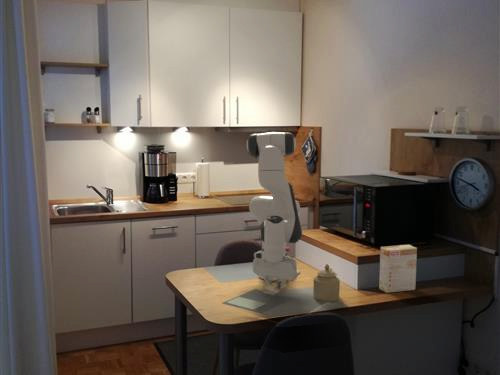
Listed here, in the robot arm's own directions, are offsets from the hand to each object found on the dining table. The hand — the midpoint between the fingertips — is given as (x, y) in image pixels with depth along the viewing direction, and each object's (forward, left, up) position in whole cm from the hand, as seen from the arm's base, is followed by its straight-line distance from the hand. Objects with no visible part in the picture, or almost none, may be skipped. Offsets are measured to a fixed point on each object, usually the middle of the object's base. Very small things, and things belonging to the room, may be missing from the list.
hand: (274, 286), depth 241 cm
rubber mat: (+6, -4, -6) cm, 9 cm away
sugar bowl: (-17, +15, -6) cm, 23 cm away
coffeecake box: (-46, +36, -6) cm, 59 cm away
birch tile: (0, 0, -2) cm, 2 cm away
